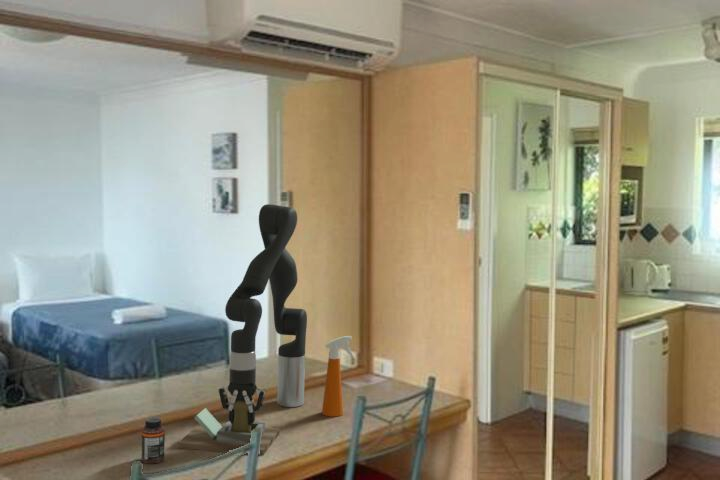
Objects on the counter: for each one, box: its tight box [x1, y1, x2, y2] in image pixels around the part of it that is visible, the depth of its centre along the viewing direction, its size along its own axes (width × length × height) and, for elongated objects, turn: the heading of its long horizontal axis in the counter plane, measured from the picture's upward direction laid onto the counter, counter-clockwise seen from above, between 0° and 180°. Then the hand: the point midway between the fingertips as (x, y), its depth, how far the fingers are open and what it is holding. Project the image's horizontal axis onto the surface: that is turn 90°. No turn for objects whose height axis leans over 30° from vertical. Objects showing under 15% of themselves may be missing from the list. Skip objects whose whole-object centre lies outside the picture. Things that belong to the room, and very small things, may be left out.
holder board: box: [177, 420, 281, 456], centre depth 208 cm, size 18×25×4 cm
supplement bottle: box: [141, 416, 166, 464], centre depth 191 cm, size 6×6×11 cm
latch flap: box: [193, 407, 222, 439], centre depth 207 cm, size 7×8×1 cm
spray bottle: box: [321, 335, 357, 418], centre depth 235 cm, size 7×11×26 cm, turn 94°
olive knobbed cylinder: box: [232, 401, 251, 433], centre depth 206 cm, size 6×6×11 cm
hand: (241, 423), depth 206 cm, fingers open, 4 cm apart
